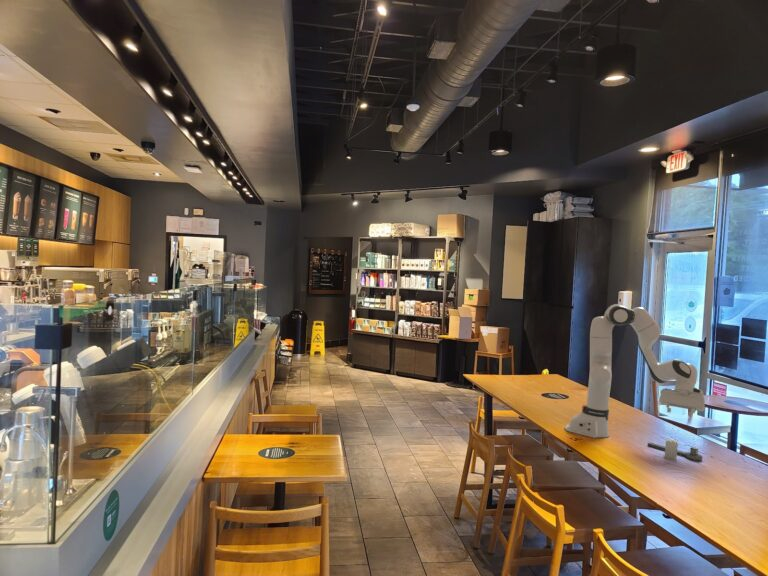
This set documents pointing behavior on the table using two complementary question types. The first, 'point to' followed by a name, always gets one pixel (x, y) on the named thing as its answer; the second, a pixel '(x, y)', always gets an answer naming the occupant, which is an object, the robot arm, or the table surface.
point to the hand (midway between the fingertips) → (679, 413)
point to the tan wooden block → (671, 449)
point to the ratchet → (689, 455)
